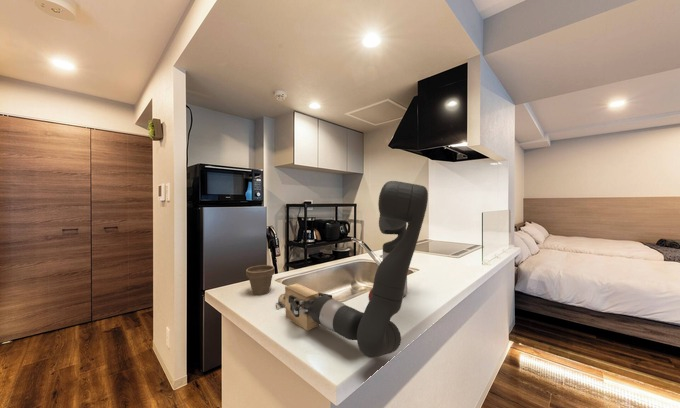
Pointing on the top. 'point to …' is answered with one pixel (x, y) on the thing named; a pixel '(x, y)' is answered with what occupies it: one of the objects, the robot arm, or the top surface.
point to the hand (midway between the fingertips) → (296, 296)
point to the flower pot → (260, 278)
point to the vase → (280, 301)
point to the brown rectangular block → (300, 293)
